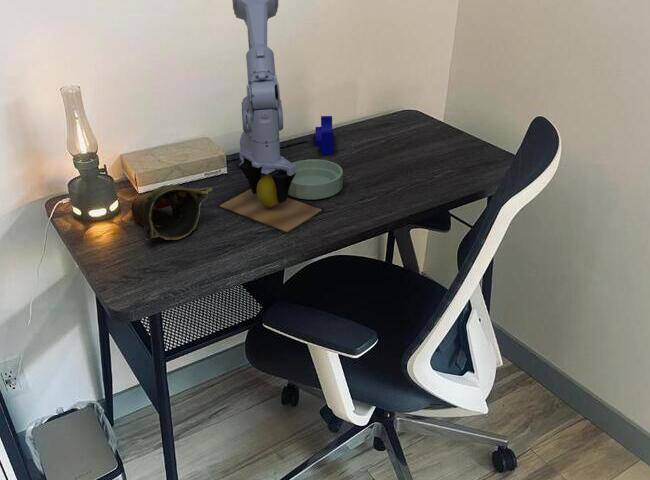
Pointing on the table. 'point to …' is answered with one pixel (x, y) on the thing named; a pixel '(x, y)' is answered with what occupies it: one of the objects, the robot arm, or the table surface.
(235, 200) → the cork mat
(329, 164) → the bowl
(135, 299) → the table surface
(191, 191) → the pot
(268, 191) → the lemon
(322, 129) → the cable clip
